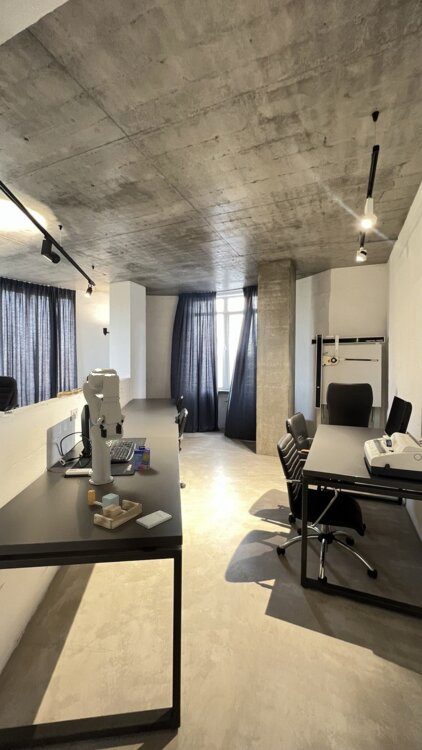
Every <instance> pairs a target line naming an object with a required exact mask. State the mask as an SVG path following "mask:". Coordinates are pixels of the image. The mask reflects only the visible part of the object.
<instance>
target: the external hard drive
mask: <svg viewBox="0 0 422 750" xmlns="http://www.w3.org/2000/svg"><path fill="white" fill-rule="evenodd" d="M172 518H173V516H172V515H171V514H169V513H167V512H165V511H162V510H158V511H154V512H151V513H150V514H147V515H145V516H142V517H140V518H138V519H135V523H136V524H138V525H140V526H142V527H143V528H146V529H151V528H153V527H155V526H158V525H160V524H162V523H165V522H167V521H168V520H170V519H172Z"/></svg>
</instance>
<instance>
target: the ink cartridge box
mask: <svg viewBox="0 0 422 750" xmlns="http://www.w3.org/2000/svg"><path fill="white" fill-rule="evenodd" d="M140 470H141V471H142V470H151V449H150V447H146V445H139V446H138V448H134V449H133V471H140Z"/></svg>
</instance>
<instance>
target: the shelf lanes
mask: <svg viewBox="0 0 422 750" xmlns="http://www.w3.org/2000/svg"><path fill="white" fill-rule="evenodd" d="M121 503H122V505H121V514H120V515H118V516H117V517H115V518H113V519H112V518H108V517H105V516H103V515H102V514H101V515H100V514H98V513H95V514H94V515H93V524H95V525H98V526H101V527H103V528H106V529H110V530H114V529H116V528H117V527H119V526H121V525H122V524H125V523H126V522H128V521H129V520H131V519H133V518H135V517H136V516H138V515H140V514H141V513H142V512H143V504H142V503H138V502H135V501H131V500H127V499H122V502H121Z"/></svg>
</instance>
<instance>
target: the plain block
mask: <svg viewBox="0 0 422 750" xmlns="http://www.w3.org/2000/svg"><path fill="white" fill-rule="evenodd" d="M121 510H122V505H121V506H120V505H119V506H117V505H114V504H112V505H110V506H108V507H106V508H104V509H103V515H102V516H105V517H108V518H112V519H113V518H115V517H117V516H118V515H120V514H121Z"/></svg>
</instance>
